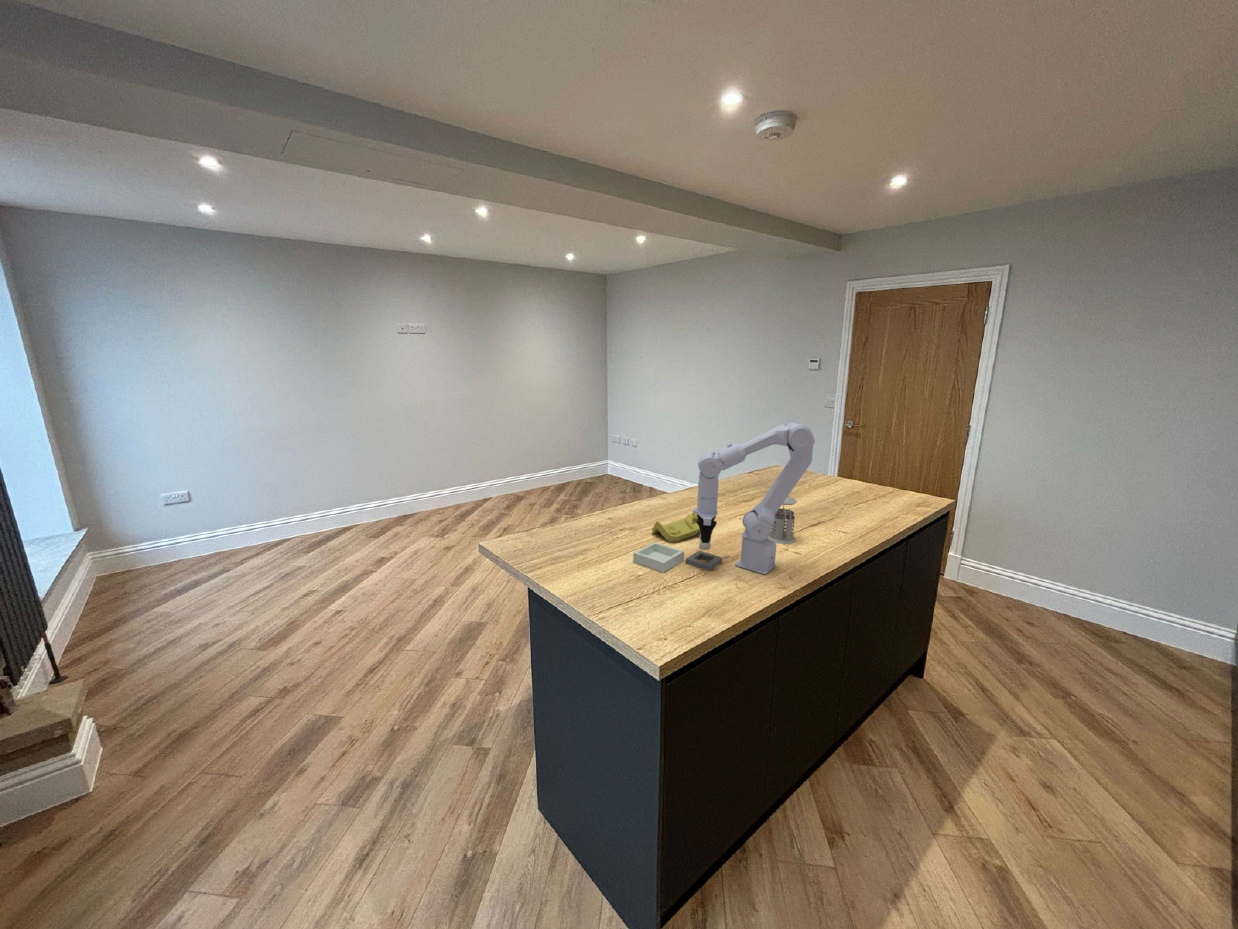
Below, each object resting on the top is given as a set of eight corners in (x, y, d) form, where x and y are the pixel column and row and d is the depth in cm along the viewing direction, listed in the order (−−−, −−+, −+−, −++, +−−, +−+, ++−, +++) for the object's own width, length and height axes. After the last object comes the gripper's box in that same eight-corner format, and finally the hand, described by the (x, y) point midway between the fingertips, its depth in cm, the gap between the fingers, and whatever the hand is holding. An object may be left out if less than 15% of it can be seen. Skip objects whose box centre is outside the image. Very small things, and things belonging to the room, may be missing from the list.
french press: (791, 533, 163) (798, 465, 157) (800, 546, 151) (808, 473, 146) (763, 532, 163) (769, 464, 158) (770, 545, 152) (776, 472, 147)
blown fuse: (712, 547, 138) (713, 527, 136) (707, 551, 135) (708, 530, 134) (702, 544, 140) (703, 524, 138) (696, 548, 137) (697, 527, 136)
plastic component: (672, 538, 151) (655, 518, 157) (666, 553, 155) (649, 533, 162) (715, 523, 161) (697, 504, 168) (709, 537, 166) (692, 519, 172)
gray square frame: (722, 562, 139) (722, 557, 139) (709, 571, 133) (709, 566, 133) (698, 555, 144) (699, 550, 144) (685, 563, 138) (685, 558, 137)
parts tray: (683, 560, 140) (684, 551, 139) (663, 572, 132) (663, 563, 131) (654, 550, 147) (654, 541, 146) (633, 561, 138) (633, 552, 138)
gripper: (693, 488, 141) (691, 530, 144) (693, 502, 127) (691, 548, 130) (717, 490, 140) (714, 532, 143) (719, 504, 126) (716, 550, 129)
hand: (705, 540), depth 137 cm, fingers closed on blown fuse, 3 cm apart
